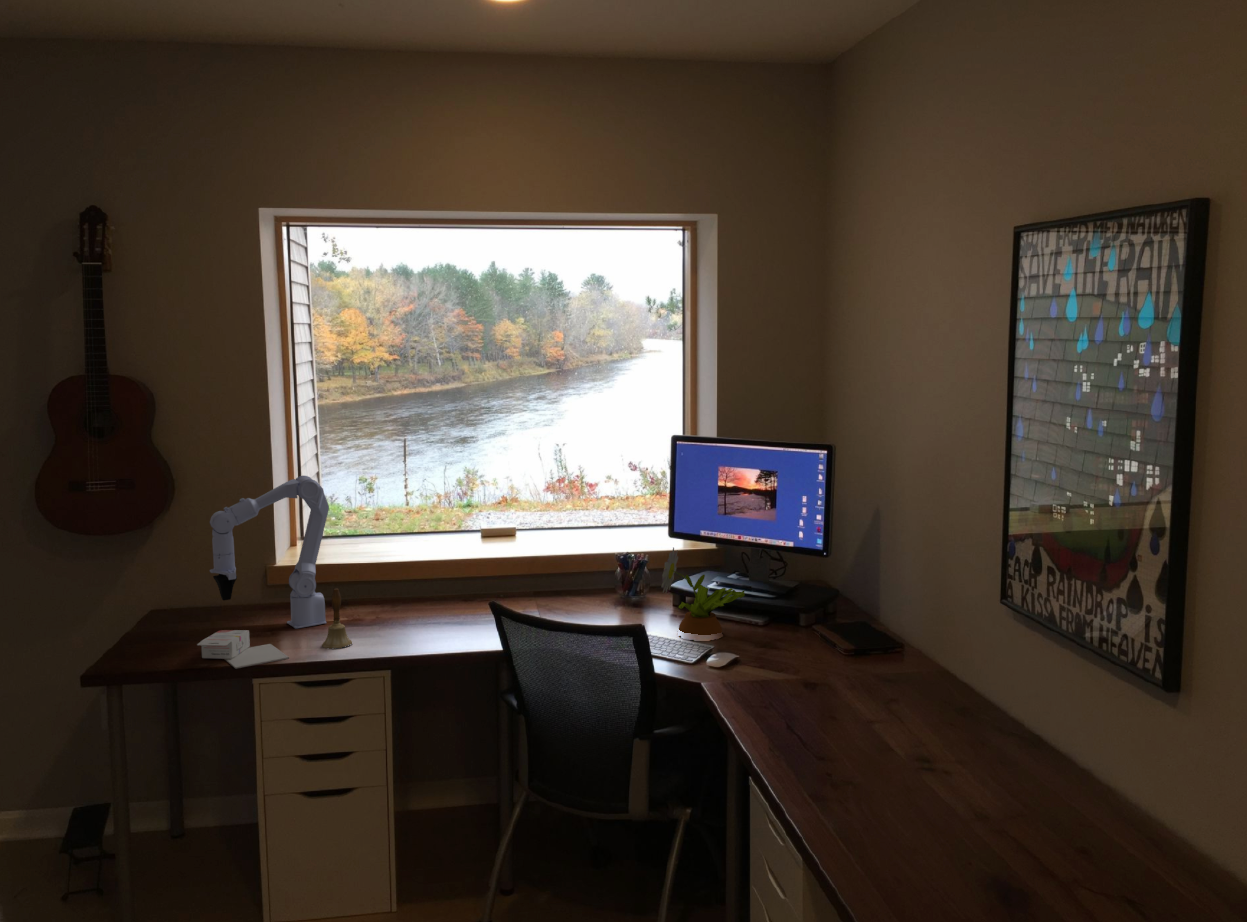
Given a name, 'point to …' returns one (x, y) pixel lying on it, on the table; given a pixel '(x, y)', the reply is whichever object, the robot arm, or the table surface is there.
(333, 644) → the hand bell
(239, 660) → the mat
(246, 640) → the ink cartridge box
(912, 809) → the table surface
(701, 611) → the decorative plant
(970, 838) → the table surface
